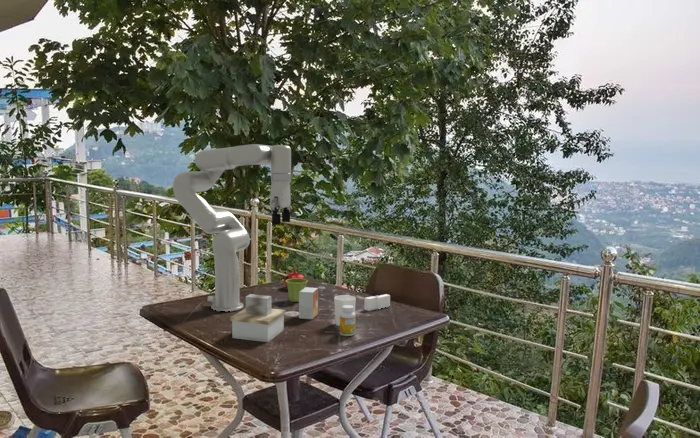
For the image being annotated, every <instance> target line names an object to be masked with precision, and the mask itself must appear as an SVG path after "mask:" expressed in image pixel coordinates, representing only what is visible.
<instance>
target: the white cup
mask: <svg viewBox="0 0 700 438" xmlns="http://www.w3.org/2000/svg"><path fill="white" fill-rule="evenodd" d="M333 299H334V302H333V303H334V319H335V320H334V321H335V322H334V323H335V325H336V326H338V327H340V313H341V312H343V311H342V306H344V305H352V306H354V311H353V312H354V313H355V314H356V302H357V299H356V296H354V295H348V294H341V295H336V296H334V298H333Z"/></svg>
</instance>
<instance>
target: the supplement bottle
mask: <svg viewBox="0 0 700 438" xmlns="http://www.w3.org/2000/svg"><path fill="white" fill-rule="evenodd" d="M342 311H343V312H341V313H340V326H339V334H340V335H341V336H344V337H350V336H351V337H352V336H355V334H356V318H357V317H356V315H357V314H356V312H355V313H354V312H353V311H354V306H352V305H344V306H342Z"/></svg>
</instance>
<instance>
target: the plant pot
mask: <svg viewBox="0 0 700 438" xmlns="http://www.w3.org/2000/svg"><path fill="white" fill-rule="evenodd" d="M308 281H309V280H307V279H306V278H305V279H299V278H294V279H287V280H286V282H287V286H288V288H287V291H288V292H287V293H288V299H289V301H290V302H293V303H294V302H298V303H299V292H300V291H301V290H302V289H304V288H305V287H307V283H308Z"/></svg>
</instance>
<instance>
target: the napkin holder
mask: <svg viewBox="0 0 700 438" xmlns="http://www.w3.org/2000/svg"><path fill="white" fill-rule="evenodd" d="M389 306H390V307H391V295H390V294H387V293H385V294H380V295H375V296H373V295H372V296H367V297H364V309H363V310H365V311H368V312H370V311H373V310H378V309H379V310H382V309H381V308H383V309H386V308H390V307H389ZM385 307H386V308H385Z"/></svg>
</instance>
